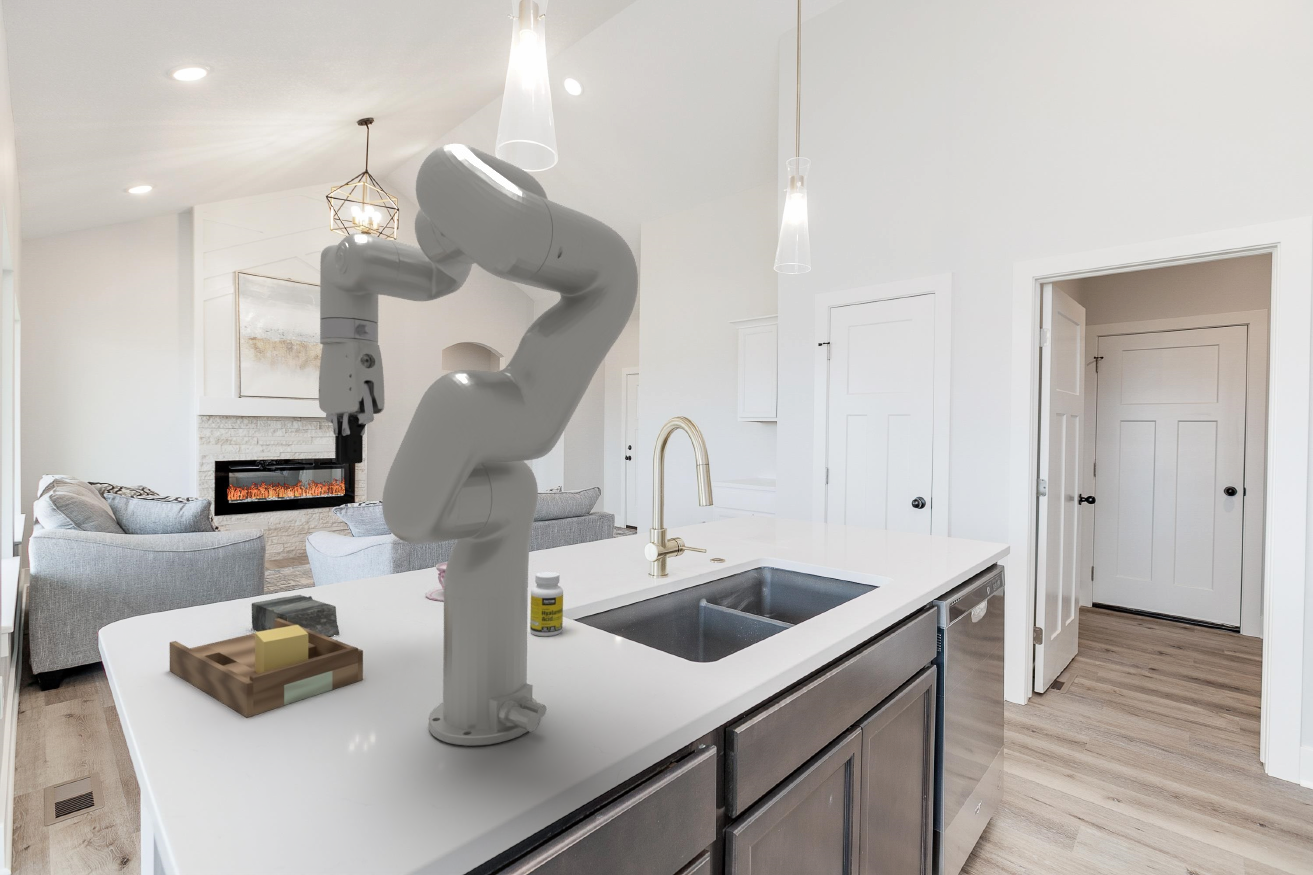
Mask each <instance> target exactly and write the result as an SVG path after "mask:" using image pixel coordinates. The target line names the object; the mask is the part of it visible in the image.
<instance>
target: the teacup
mask: <svg viewBox="0 0 1313 875" xmlns="http://www.w3.org/2000/svg"><path fill="white" fill-rule="evenodd" d="M447 562H448V561H443V562H440V563H437V564H436V565H435V568H436V570H437V572H438V573H437V575H438V577H437V579H438V582H439V585H440V586H438V587H434V588H431V589H429V590H427V591H426V592H425V597H426V598H427V599H429V600H432V601H433V600H434V601H441V602H444V577H445V570H446V566H447Z"/></svg>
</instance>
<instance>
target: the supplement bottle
mask: <svg viewBox="0 0 1313 875" xmlns="http://www.w3.org/2000/svg"><path fill="white" fill-rule="evenodd" d="M559 584H560V573H558V572H554V571H542V572H537V573H536V574H535V586H533V588H531V590H530V622H529V624H530V625H529V630H530V633H531V634H532V635H535V636H538V637H551V636H552V637H553V636H557V635H559V634H561V632H563V624H564V623H563V622H564V621H563V620H564V610H563V609H564V590H563V588H562V587H561V586H560V585H559Z"/></svg>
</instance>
